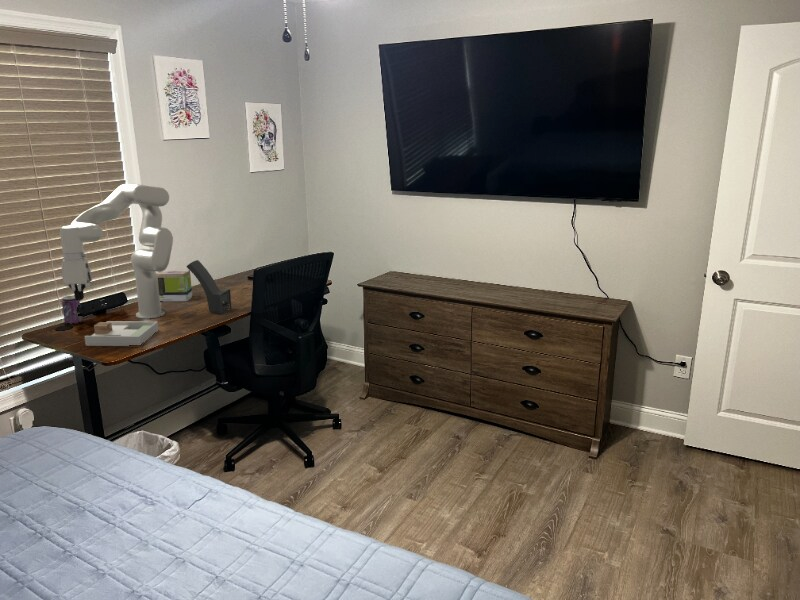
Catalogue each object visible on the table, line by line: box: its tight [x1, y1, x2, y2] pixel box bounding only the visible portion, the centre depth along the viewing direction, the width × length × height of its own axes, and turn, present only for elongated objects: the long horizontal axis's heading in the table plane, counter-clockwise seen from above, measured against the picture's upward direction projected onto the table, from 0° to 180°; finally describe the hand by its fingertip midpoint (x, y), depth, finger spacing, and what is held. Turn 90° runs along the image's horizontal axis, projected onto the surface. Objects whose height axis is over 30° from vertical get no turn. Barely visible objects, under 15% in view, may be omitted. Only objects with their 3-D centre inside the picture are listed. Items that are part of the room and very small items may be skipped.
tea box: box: [156, 269, 193, 302], centre depth 310 cm, size 15×10×15 cm, turn 92°
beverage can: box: [61, 294, 83, 325], centre depth 272 cm, size 7×7×12 cm
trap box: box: [84, 320, 160, 347], centre depth 254 cm, size 20×22×4 cm
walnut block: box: [93, 321, 112, 334], centre depth 253 cm, size 5×5×4 cm
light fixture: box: [186, 259, 232, 315], centre depth 290 cm, size 11×17×24 cm, turn 81°
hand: (79, 299), depth 250 cm, fingers closed
